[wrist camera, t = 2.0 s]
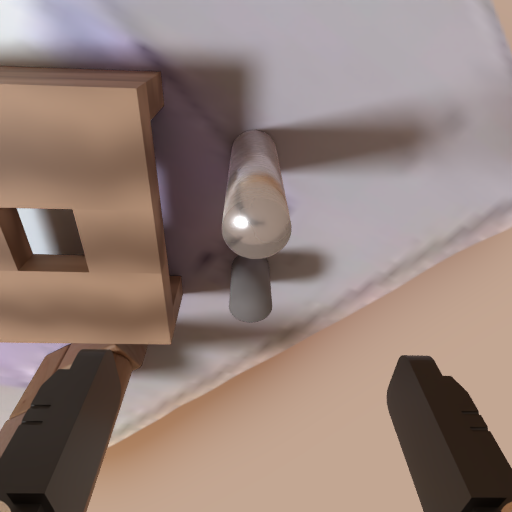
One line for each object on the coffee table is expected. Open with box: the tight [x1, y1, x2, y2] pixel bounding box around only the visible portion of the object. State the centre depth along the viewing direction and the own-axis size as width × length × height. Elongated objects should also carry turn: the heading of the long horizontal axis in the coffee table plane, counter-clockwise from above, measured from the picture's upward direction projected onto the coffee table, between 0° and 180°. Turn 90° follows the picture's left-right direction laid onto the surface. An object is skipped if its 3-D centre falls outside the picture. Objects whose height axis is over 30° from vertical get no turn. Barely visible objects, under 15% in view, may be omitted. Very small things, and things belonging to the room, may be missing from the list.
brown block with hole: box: [0, 66, 183, 344], centre depth 25 cm, size 18×14×6 cm
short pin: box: [229, 255, 272, 323], centre depth 30 cm, size 3×3×5 cm
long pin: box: [222, 130, 291, 259], centre depth 21 cm, size 3×3×11 cm
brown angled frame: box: [0, 343, 148, 512], centre depth 29 cm, size 4×11×18 cm, turn 120°
